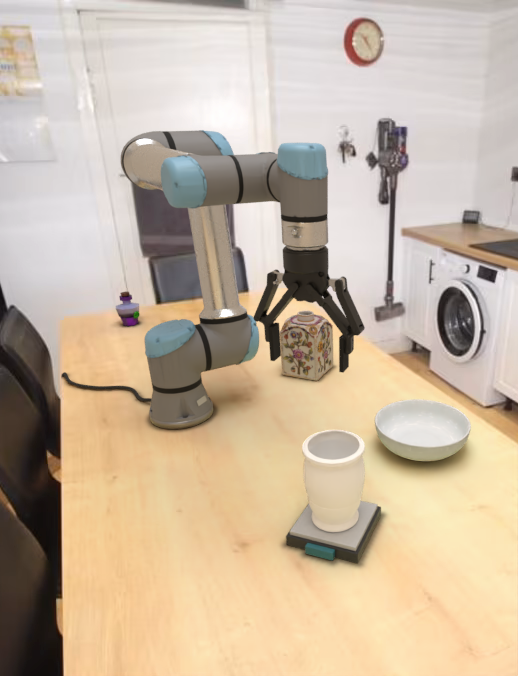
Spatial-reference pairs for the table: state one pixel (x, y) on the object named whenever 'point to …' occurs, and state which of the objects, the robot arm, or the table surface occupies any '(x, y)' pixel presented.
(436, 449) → the serving bowl
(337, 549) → the scale
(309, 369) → the decorative jar
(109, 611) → the table surface
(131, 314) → the potion bottle
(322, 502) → the jar
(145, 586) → the table surface
